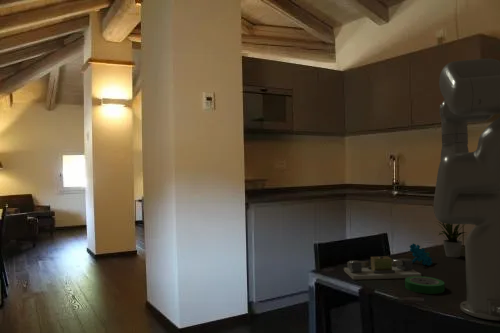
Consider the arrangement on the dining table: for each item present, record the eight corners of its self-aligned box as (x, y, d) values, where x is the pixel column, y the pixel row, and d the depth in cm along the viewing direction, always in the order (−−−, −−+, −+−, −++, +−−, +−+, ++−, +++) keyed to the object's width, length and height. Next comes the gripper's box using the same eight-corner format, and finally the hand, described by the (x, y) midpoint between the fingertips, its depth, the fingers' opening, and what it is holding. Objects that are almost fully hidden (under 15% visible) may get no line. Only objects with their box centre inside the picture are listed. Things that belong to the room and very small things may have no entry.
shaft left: (366, 269, 143) (366, 259, 143) (370, 272, 139) (370, 262, 139) (346, 270, 143) (346, 260, 143) (350, 273, 138) (349, 263, 139)
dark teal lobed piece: (423, 264, 148) (407, 242, 154) (412, 273, 151) (397, 251, 157) (440, 263, 154) (423, 242, 160) (429, 272, 157) (413, 251, 163)
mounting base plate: (421, 277, 135) (421, 271, 135) (353, 279, 135) (353, 273, 135) (406, 269, 147) (406, 263, 147) (343, 270, 147) (343, 265, 147)
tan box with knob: (374, 272, 139) (374, 258, 139) (371, 269, 143) (370, 256, 143) (392, 271, 139) (391, 257, 139) (387, 269, 143) (387, 255, 143)
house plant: (423, 254, 171) (422, 216, 171) (444, 251, 178) (443, 214, 178) (454, 261, 159) (453, 219, 159) (476, 256, 165) (474, 216, 165)
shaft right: (397, 271, 139) (397, 261, 139) (389, 268, 143) (389, 259, 143) (414, 269, 141) (414, 260, 141) (406, 267, 145) (406, 257, 145)
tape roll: (449, 288, 124) (448, 279, 124) (438, 297, 115) (438, 287, 115) (412, 282, 131) (411, 274, 131) (399, 290, 123) (399, 281, 123)
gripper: (430, 142, 139) (431, 192, 139) (457, 138, 122) (459, 195, 121) (451, 142, 139) (453, 192, 139) (482, 138, 122) (484, 194, 122)
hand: (456, 193), depth 130 cm, fingers open, 9 cm apart
